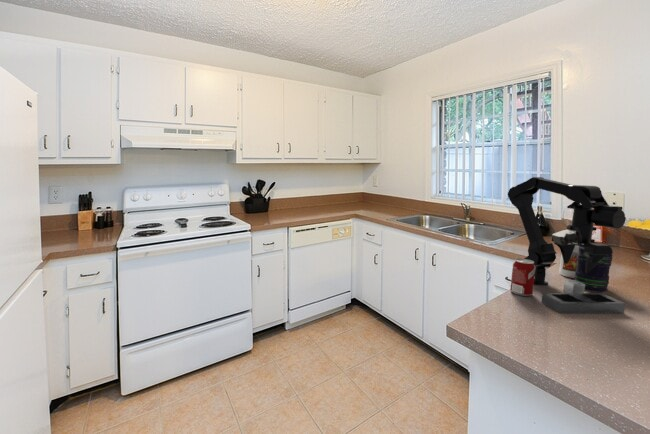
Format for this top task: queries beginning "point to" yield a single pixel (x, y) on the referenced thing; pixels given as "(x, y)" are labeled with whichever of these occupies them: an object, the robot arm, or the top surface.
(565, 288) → the grey foam cube
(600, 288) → the storage jar
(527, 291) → the soda can
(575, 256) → the milk bottle
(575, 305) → the tray
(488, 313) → the top surface
